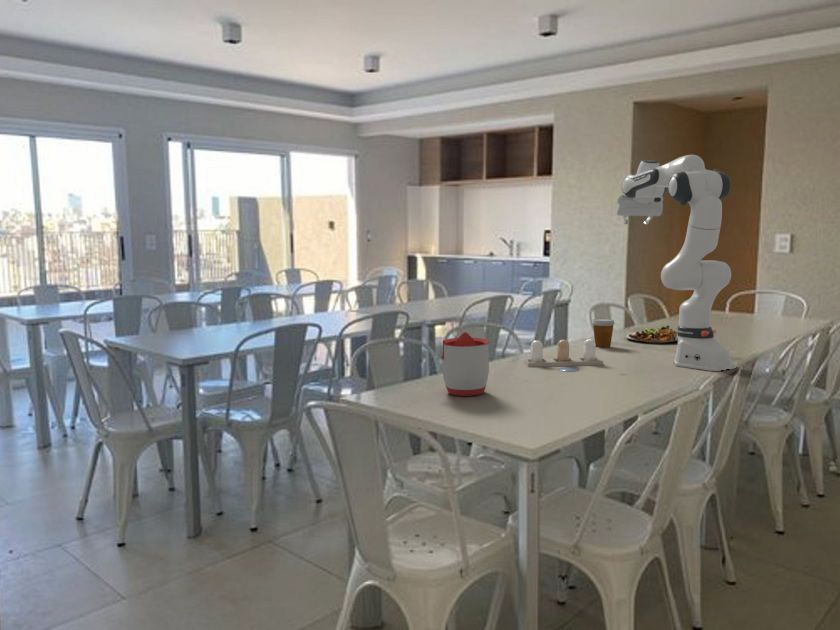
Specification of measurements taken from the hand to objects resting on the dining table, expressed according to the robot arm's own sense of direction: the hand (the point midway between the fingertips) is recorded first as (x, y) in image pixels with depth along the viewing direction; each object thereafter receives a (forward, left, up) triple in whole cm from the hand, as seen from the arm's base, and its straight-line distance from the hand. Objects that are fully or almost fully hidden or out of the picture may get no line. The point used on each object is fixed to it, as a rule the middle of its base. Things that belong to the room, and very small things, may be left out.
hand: (635, 223), depth 315 cm
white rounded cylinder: (-30, +59, -51) cm, 84 cm away
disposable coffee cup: (-4, +24, -53) cm, 58 cm away
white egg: (-20, +76, -51) cm, 94 cm away
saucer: (-34, +73, -53) cm, 97 cm away
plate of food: (-5, -9, -53) cm, 54 cm away
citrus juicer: (-36, +121, -53) cm, 137 cm away
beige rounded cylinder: (-25, +67, -51) cm, 88 cm away
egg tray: (-25, +67, -53) cm, 89 cm away
